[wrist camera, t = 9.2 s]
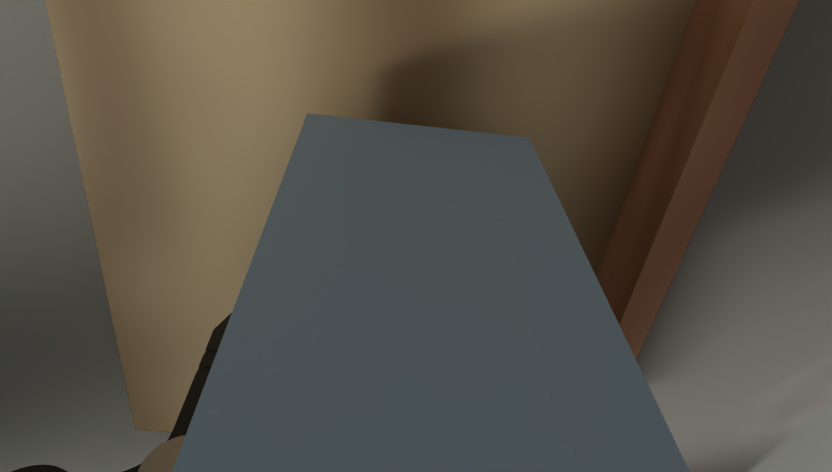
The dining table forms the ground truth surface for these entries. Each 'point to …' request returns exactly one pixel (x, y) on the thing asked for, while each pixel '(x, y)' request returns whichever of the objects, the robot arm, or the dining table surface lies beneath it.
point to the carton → (422, 321)
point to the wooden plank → (397, 103)
